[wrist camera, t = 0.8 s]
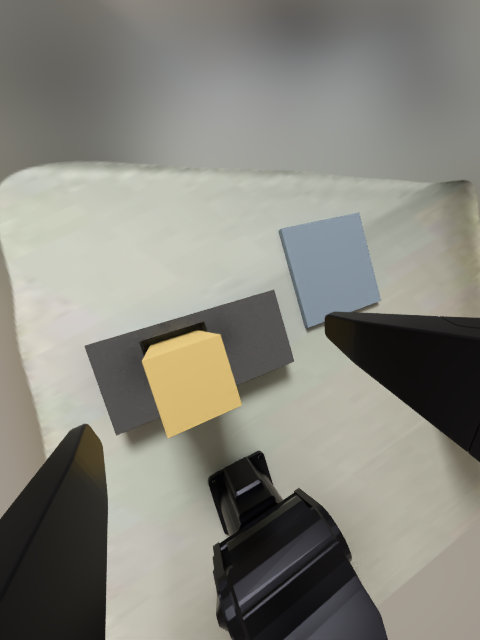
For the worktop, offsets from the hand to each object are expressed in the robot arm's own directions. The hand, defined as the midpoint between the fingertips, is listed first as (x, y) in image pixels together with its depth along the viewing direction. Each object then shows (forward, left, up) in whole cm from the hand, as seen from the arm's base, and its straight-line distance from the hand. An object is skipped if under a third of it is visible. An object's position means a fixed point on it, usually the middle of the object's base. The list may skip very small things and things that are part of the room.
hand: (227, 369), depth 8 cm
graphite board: (-2, -1, -17) cm, 17 cm away
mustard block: (-2, +1, -17) cm, 17 cm away
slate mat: (+3, -20, -17) cm, 26 cm away
